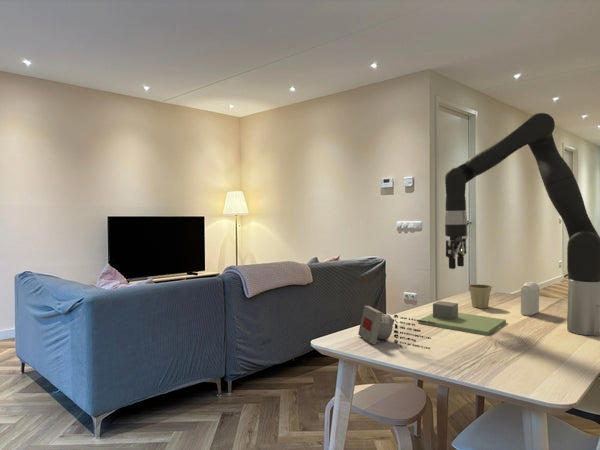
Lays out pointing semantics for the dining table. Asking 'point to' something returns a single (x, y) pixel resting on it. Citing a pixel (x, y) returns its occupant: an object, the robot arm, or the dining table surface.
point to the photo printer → (529, 298)
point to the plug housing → (445, 310)
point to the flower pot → (480, 295)
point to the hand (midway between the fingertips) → (456, 267)
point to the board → (466, 323)
